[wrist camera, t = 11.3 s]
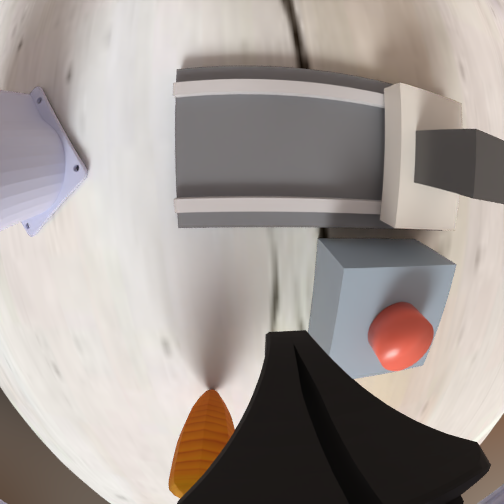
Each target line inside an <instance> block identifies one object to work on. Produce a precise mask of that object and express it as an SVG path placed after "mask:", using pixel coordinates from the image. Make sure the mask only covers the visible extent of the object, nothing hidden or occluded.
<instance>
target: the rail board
mask: <svg viewBox="0 0 504 504" xmlns="http://www.w3.org/2000/svg"><path fill="white" fill-rule="evenodd" d="M392 85H394V84H390V83H386V82H382V81H377V80H373V79H368V78H363V77H358V76H352V75H347V74H341V73H334V72H327V71H319V70H311V69H301V68H289V67H272V66H216V67H199V68H187V69H177V75H176V83H173V96H174V97H176V106H175V160H176V192H177V198H175V199H174V208H175V213H178V228H206V227H333V228H380V229H401V228H394V227H392V226H390V225H388V224H386V223H384V222H383V221H381V220H380V214H381V203H382V191H383V176H384V155H385V102H384V88H387V87H389V86H392ZM412 230H428V229H412ZM438 231H442V230H438Z"/></svg>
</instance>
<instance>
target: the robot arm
mask: <svg viewBox="0 0 504 504" xmlns="http://www.w3.org/2000/svg"><path fill="white" fill-rule="evenodd" d="M41 99H42V101H41V103H40V100H41ZM77 165H79V170H78V171H77V169H76V166H77ZM87 175H88V171H87V168H86V167H85V165H84V164H83V162H82V160H81V159H80V157H79V155H78V154H77V152H76V150H75V149H74V147H73V145H72V143H71V142H70V140H69V138H68V136H67V135H66V133H65V131H64V129H63V128H62V126H61V124H60V122H59V120H58V118H57V116H56V115H55V113H54V111H53V109H52V107H51V105H50V103H49V101H48V99H47V97H46V95H45V93H44V91H43V89H42V88H41V87H38V86H37V87H35V88H34V89H33V91H32V92H31V93H30V94H25V93H18V92H12V91H4V90H0V231H2V230H4V229H6V228H8V227H11V226H13V225H15V224H17V223H20V222H21V223H22V225H23V226H24V228H25V230H26V231H27V233H28V235H29V236H31V237H33V236H35V235H36V234H37V232H38V231H39V230H40V229H41V228H42V226H43V225H44V224H45V223H46V221H47V220H48V219H49V218H50V217H51V215H52V214H53V213H54V212H55V211H56V210H57V209H58V207H59V206H60V205H61V204H62V203H63V202H64V201H65V200H66V199H67V197H68V196H69V195H70V194H71V193H72V192H73V191H74V190H75V189H76V188H77V187H78V186H79V185H80V184H81V183H82V182H83V181H84V180H85V179H86V177H87ZM28 224H29V225H28ZM29 226H30V227H29ZM490 466H491V464H490V463H489V461H488V459H487V457H486V456H485V454H484V452H483V451H482V449H481V447H480V446H479V444H478V443H477V442H474V441H470V440H467V439H463V438H459V437H456V436H452V435H449V434H446V433H443V432H441V431H438V430H436V429H433V428H431V427H428V426H426V425H424V424H421V423H419V422H417V421H415V420H413V419H411V418H409V417H407V416H406V415H404V414H402V413H400V412H398V411H397V410H395V409H393V408H392V407H390V406H388V405H387V404H385V403H384V402H382V401H381V400H379V399H378V398H377V397H375V396H374V395H372V394H371V393H370V392H368V391H367V390H366V389H364V388H363V387H362V386H361V385H359V384H358V383H357V382H356V381H355V380H354V379H352V378H351V377H350V376H349V375H348V374H347V373H346V372H345V371H344V370H343V369H342V368H341V367H340V366H339V365H338V364H337V363H336V362H335V361H334V360H332V358H331V357H330V356H329V355H328V354H327V353H326V352H325V351H324V350H323V349H322V348H321V347H320V346H319V345H318V343H317V342H316V341H315V340H314V339H313V338H312V337H311V336H310V334H309V333H308V332H307V331H306V330H303V331H283V332H269V333H268V334H266V342H265V359H264V363H263V366H262V370H261V374H260V377H259V380H258V383H257V385H256V388H255V391H254V393H253V396H252V398H251V400H250V403H249V405H248V407H247V409H246V411H245V413H244V415H243V417H242V419H241V421H240V422H239V424H238V426H237V427H236V429H235V431H234V433H233V434H232V436H231V438H230V439H229V441H228V442H227V444H226V445H225V447H224V448H223V449H222V451H221V452H220V454H219V455H218V456H217V458H216V459H215V460H214V462H213V463H212V464H211V465H210V467H209V468H208V469H207V471H206V472H205V473H204V474H203V475H202V476H201V478H200V479H199V480H198V481H197V482H196V483H195V484H194V485H193V486H192V487H191V488H190V489H189V490H188V491H187V492H186V493H185V494H184V495H183V496H182V497H181V498H180V500H179V501H178V503H177V504H463V502H464V501H463V499H462V497H461V494H463V493H464V492H465V491H466V490H468V489H469V488H470V487H471V486H473V485H474V484H475V483H476V482H477V481H479V480H480V479H481V478H482V477H483V476H484V475H485V474H486V473H487V472H488V471H489V469H490ZM0 504H6V503H5V502H4V501H2V500H1V499H0ZM477 504H504V484H503V485H502V486H500V487H499V488H498V489H496V490H495V491H494V492H492V493H491V494H490V495H488V496H487V497H486V498H484V499H483V500H481V501H480V502H479V503H477Z"/></svg>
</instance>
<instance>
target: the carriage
mask: <svg viewBox="0 0 504 504" xmlns="http://www.w3.org/2000/svg"><path fill="white" fill-rule="evenodd" d="M384 102H385V155H384V176H383V191H382V203H381V214H380V220H381V221H383V222H384V223H386V224H388V225H390V226H392V227H394V228H401V229H428V230H450V231H455V225H456V219H457V212H458V204H459V195H463V196H467V197H470V198H474V199H479V200H485V201H490V202H496V203H501V204H504V141H503V140H501V139H499V138H496V137H494V136H492V135H490V134H487V133H485V132H482V131H480V130H477V129H462V107H461V103H459V102H457V101H454V100H452V99H449V98H447V97H444V96H441V95H438V94H436V93H433V92H430V91H427V90H424V89H421V88H417V87H414V86H411V85H407V84H404V83H397V84H394V85H392V86H389V87H387V88H384Z"/></svg>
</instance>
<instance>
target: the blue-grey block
mask: <svg viewBox="0 0 504 504" xmlns="http://www.w3.org/2000/svg"><path fill="white" fill-rule="evenodd" d="M455 268H456V264H455V263H453V262H452V261H450V260H448V259H447V258H445V257H444V256H442V255H440V254H439V253H437V252H436V251H434V250H432V249H431V248H429V247H427V246H426V245H424V244H422V243H420V242H419V241H417V240H415V239H369V238H318V244H317V256H316V268H315V278H314V288H313V297H312V306H311V315H310V323H309V330H308V333H309V334H310V336H311V337H312V338H313V339H314V340H315V341H316V342H317V343H318V345H319V346H320V347H321V348H322V349H323V350H324V351H325V352H326V353H327V354H328V355H329V356H330V357H331V358H332V360H334V361H335V362H336V363H337V364H338V365H339V366H340V367H341V368H342V369H343V370H344V371H345V372H346V373H347V374H348V375H349V376H350V377H351V378H352V379H356V378H362V377H368V376H374V375H380V374H385V373H390V372H395V371H389V370H387V369H385V368H384V367H383V366H382V364H381V363H380V361H379V359H378V358H377V356H376V354H375V353H374V351H373V349H372V348H371V346H370V344H369V342H368V331H369V328H370V325H371V323H372V322H373V320H374V319H375V317H376V316H377V315H378V314H379V313H380V312H381V311H382V310H384V309H385V308H387V307H388V306H390V305H392V304H395V303H398V302H407V303H410V304H412V305H413V306H414V307H415V308H416V309H417V310H418V311H419V312H420V313H421V314H422V315H423V316H424V317H425V318H426V319H427V320H428V321H429V322H430V323H431V325H432V326H433V330H434V336H433V339H434V337H435V334H436V331H437V328H438V326H439V323H440V320H441V317H442V314H443V311H444V308H445V304H446V301H447V298H448V294H449V291H450V287H451V284H452V280H453V276H454V272H455ZM432 342H433V340H432ZM431 345H432V343H431ZM431 345H430V347H431ZM430 347H429V349H428V350H427V352H426V353H425V354H424V356H423V357H422V358H421V359H420V360H418V361H417V362H416V363H415V364H413V365H412V366H410V367H408V368H406V369H409V368H414V367H418V366H422V365H423V364H424V362H425V359H426V357H427V354H428V352H429V350H430ZM403 370H405V369H403ZM399 371H400V370H399Z"/></svg>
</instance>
